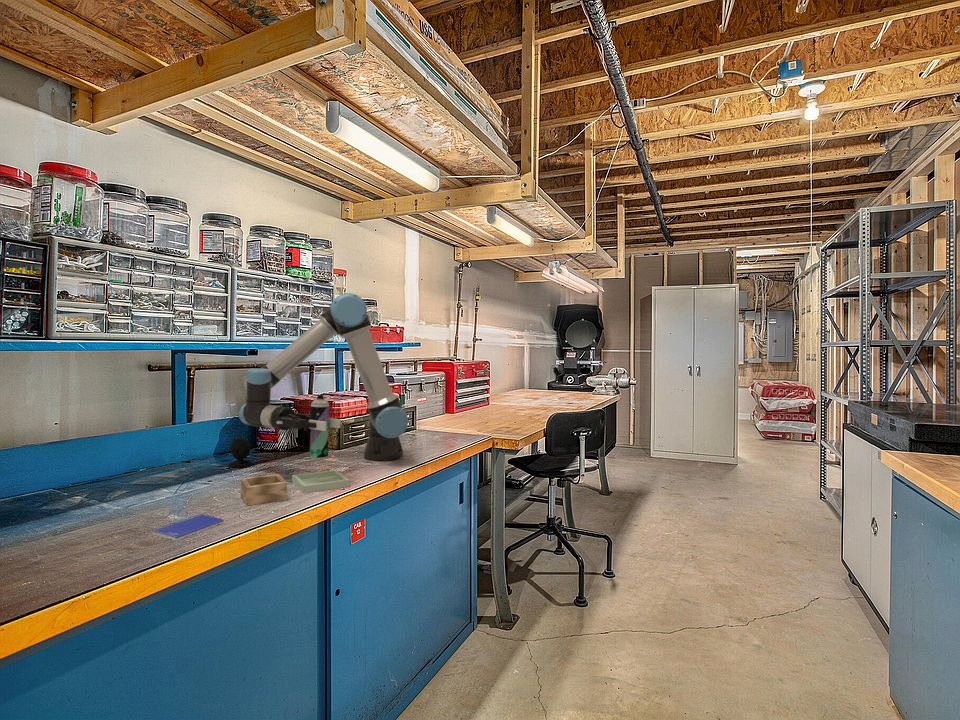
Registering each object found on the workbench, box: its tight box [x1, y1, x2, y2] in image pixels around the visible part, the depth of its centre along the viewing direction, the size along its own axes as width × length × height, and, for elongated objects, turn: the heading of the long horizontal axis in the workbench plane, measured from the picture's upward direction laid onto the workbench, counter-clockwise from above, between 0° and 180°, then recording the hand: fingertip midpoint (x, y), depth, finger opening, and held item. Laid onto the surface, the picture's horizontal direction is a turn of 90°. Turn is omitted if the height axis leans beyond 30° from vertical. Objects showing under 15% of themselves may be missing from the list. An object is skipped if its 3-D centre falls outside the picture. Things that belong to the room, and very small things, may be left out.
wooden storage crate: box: [240, 473, 288, 507], centre depth 144 cm, size 10×10×5 cm
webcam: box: [227, 437, 253, 469], centre depth 179 cm, size 8×8×10 cm
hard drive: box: [151, 514, 225, 541], centre depth 120 cm, size 2×8×12 cm
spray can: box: [309, 394, 330, 461], centre depth 159 cm, size 6×6×20 cm
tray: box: [291, 469, 351, 494], centre depth 159 cm, size 14×14×2 cm
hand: (332, 425), depth 156 cm, fingers closed on spray can, 5 cm apart
